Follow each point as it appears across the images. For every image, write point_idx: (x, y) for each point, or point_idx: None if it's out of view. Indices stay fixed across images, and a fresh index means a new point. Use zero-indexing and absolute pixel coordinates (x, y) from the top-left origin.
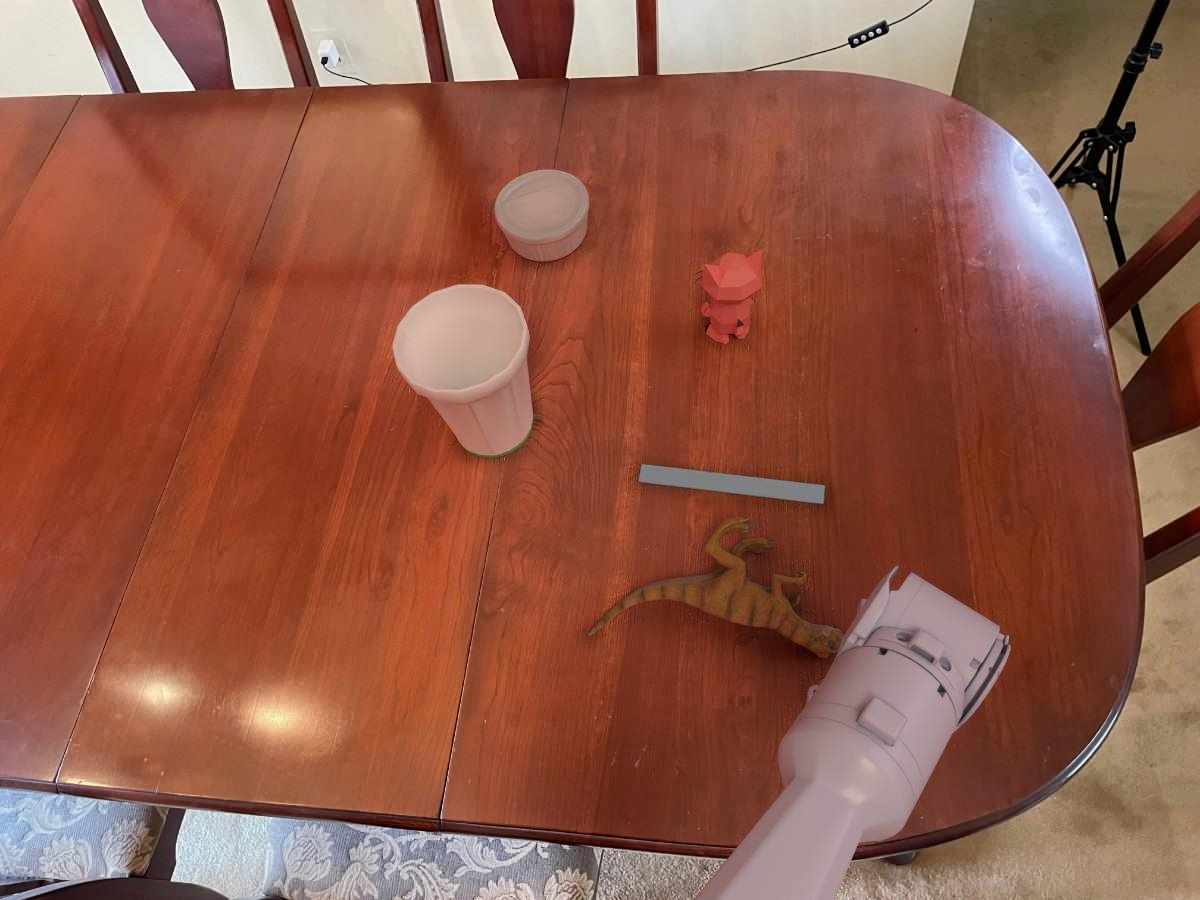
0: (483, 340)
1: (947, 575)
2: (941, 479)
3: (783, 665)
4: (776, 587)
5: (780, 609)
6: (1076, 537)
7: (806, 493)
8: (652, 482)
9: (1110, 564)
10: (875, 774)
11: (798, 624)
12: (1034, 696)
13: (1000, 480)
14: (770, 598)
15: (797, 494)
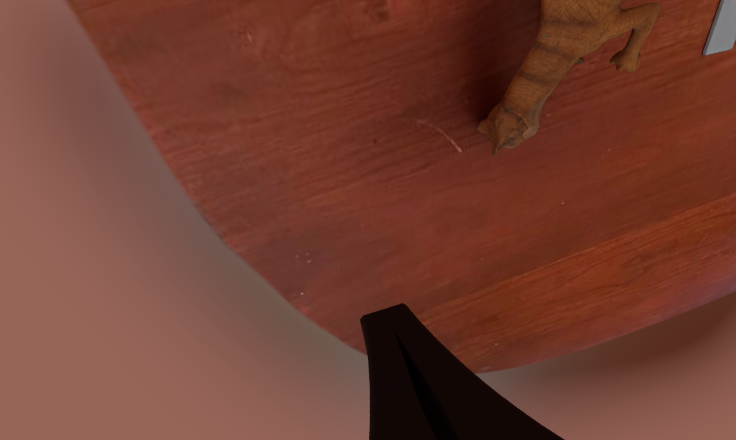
0: None
1: (584, 231)
2: (693, 192)
3: (454, 64)
4: (635, 20)
5: (586, 42)
6: (610, 312)
7: (728, 21)
8: None
9: (583, 337)
10: None
11: (550, 85)
12: (462, 332)
13: (677, 244)
14: (611, 13)
15: (731, 5)
